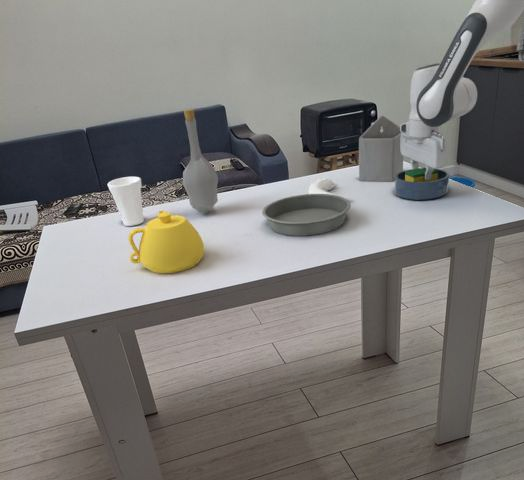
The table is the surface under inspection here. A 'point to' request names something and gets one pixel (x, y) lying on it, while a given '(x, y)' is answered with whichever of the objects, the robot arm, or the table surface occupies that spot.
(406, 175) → the sponge
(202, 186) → the bottle
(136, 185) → the cup
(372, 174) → the planter
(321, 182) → the white rounded piece
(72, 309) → the table surface
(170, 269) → the teapot
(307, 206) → the cake pan
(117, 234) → the table surface
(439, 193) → the bowl
